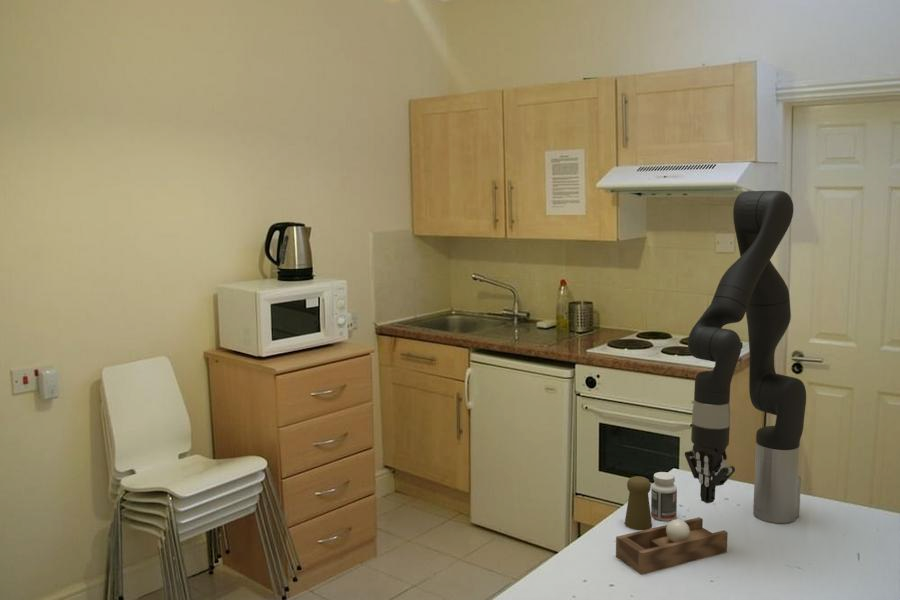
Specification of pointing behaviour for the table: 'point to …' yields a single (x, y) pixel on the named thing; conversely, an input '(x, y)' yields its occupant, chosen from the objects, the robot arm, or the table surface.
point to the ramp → (668, 547)
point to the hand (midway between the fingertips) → (707, 501)
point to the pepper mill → (638, 504)
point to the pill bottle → (664, 497)
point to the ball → (677, 530)
